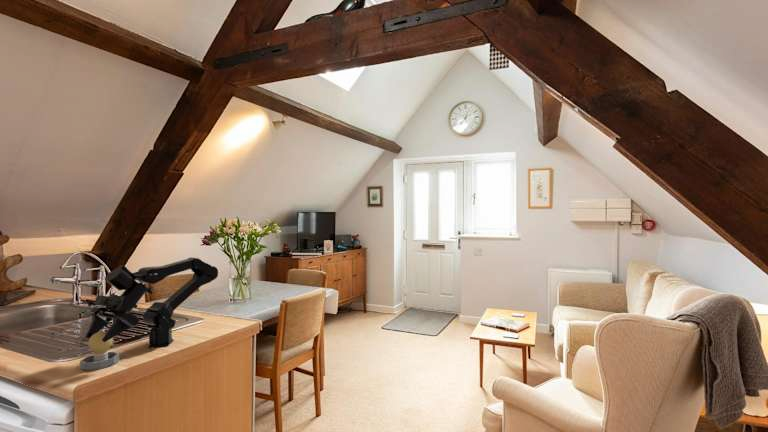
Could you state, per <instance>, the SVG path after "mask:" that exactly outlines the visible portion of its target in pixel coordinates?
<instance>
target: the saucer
mask: <svg viewBox="0 0 768 432" xmlns="http://www.w3.org/2000/svg"><path fill="white" fill-rule="evenodd" d="M119 360H120V353H119V352H116V351H108V359H107V360H103V361H100V362H94V354H90V355H88V356H85V357H84V358H83V359H82V358H81V360H79V367H80V368H81V370H82V371H97V370H102V369H106V368H110V367H112V366H114V365H116V364H117V363H118V362H119Z"/></svg>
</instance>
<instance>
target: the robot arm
mask: <svg viewBox="0 0 768 432" xmlns="http://www.w3.org/2000/svg"><path fill="white" fill-rule="evenodd" d="M188 270H190V271H191V272H192V273H193V275H192V277H191V278H190V280H188V281H187V282H186V283H184V284H183V285H182V286H181V287H180V288H179V289H178V290H176V292H174V293H173V294H171V295H170V296H169V297H168V298H167V299H165V301H163V302H158V301H155V302H153V304H151V305H150V306H149V307H148V308H146V311H145V312H144V313H143V317H142V318H143V319H142V321H143V323H144V324H146V326H147V328H148V329H150V332H149V333H148V343H149V345H148V348H156V347H159V348H160V347H168V346H169V345H170V344H171V343H172V342H173V341H174V339H173V337H172V336H173V334H172V333H173V331H172V329H173V328H175V325H176V320H174V319H173V318H172V316H173V315H174V311H175V310H176V309H177V308H178V307H179V306H181V305H182V304H183V303H184V302H185V301H186V300H187V299H188V298H189V297H191V296H192V295H193V294H195V292H196V291H197V290H198V289H200V288H201V287H202V286H205V285H207V284H209V283H211V282H213V281H215V280H216V279H217V278H218V277H219V275H218V274H219V269H218V268H217V267H216V266H214V265H213V266H212V265H211V264H209V263H207V262H205V261H203V260H201V259H200V258H198V257H188V258H185V259H182V260H179V261H175V262H171V263H169V264H164V265H160V266H159V265H158V266H157V265H156V266H146V267H145V266H144V267H142V268H139V269H138V271H134V272H131V271H130V269H128V268H127V267H126V265H119V266H118V267H117V268H115V269H113V270H111V271H110V272H108V274H106V276H105V277H104V280H105V282H107V283H108V284H109V285H111V286H112V287H114V288H115V289H117V291H123V292H122V293H121V294H120V295H117V294H112V293H111V294H110V295H109V296H107V295H102V294H97V295H96V297H95V299H94V302H93V305H95V306H94V307H92V309H91V310H90V311H89V314H90V317H91V319H92V321H91V323H90V325H89V328H88V330H87V332H86V335H85V338H87V339H90V338H91V336H92V335H94V334H95V333H98V332H101V330H103V329H104V328H105V327H106V326H108V325H109V324H110V323H109V322H111V321H112V324H111V326H110V327H109V329H108V330H107V331H106V332H107V333H106V334H105V336H104V337H103V339H102V341H103V342H106V341H108V340H109V339H111V338H115V337H117V336H118V335H120V334H121V333H123V332H126V331H127V330H129V329H132V328H133V327H137V325H138V323H140V318H139V317H138V316H137V315H135V314H134V313H132V312H131V311H133V309H137V307H138V302H139V301H140V300H141V299H142V298H143V296H144V295H152V294H153V291H152V286H147V285H145V284H149V285H155V284H157V283H160V282H162V281H163V280H164V279H167V277H169V276H173V275H175V274H178V273H181V272H182V273H183V272H185V271H188Z"/></svg>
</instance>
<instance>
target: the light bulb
mask: <svg viewBox="0 0 768 432" xmlns="http://www.w3.org/2000/svg"><path fill="white" fill-rule="evenodd" d="M107 332H108V331H98V332H97V333H95V334H94V335H92V336H91V337H90V338H88V339H89V340H88V342H87V343H88V345H87V346H88V347H89V349H90V350H91V352H93V353H94V354H93V355H94V362H100V361H103V360H107V359H108V352H109V351H108V350H109V349H110V347H111V346H112V344H113V342H114V341H113V338H114V337H113V338H111V339H109V340H108V341H106V342H103V341H102V339H103V337H104V336H105V334H106V333H107Z"/></svg>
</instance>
